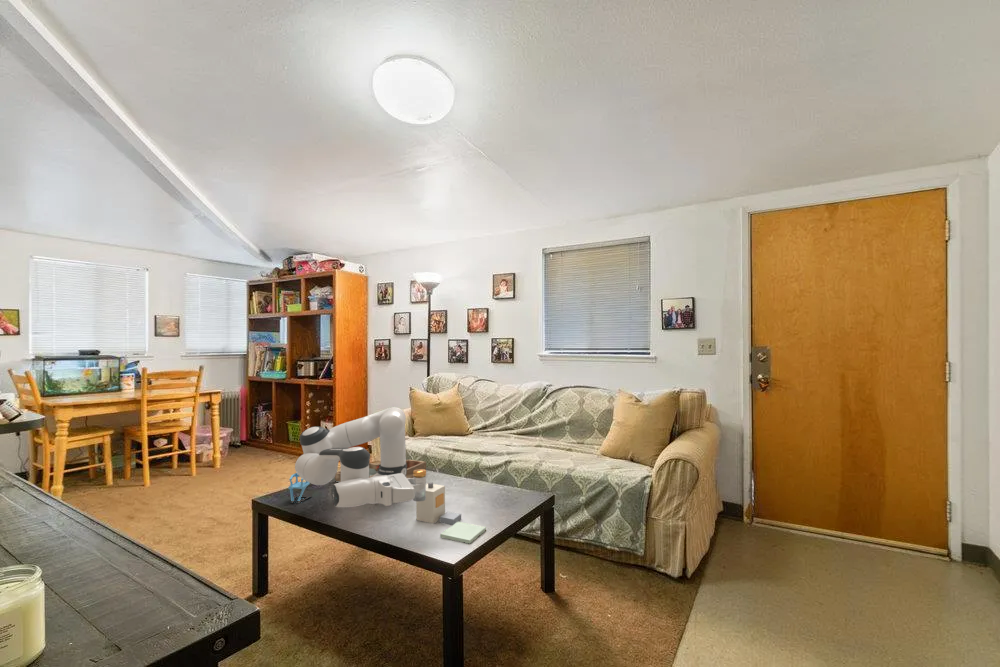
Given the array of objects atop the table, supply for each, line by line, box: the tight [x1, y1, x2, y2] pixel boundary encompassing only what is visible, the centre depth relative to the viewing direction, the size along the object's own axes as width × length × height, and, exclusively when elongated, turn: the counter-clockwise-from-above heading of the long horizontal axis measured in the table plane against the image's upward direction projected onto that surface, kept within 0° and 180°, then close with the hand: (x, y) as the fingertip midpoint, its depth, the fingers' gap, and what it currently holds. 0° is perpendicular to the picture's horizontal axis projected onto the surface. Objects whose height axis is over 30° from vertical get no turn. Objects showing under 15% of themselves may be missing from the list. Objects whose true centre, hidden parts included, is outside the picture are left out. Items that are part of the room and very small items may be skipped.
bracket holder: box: [406, 459, 427, 478], centre depth 227 cm, size 11×18×7 cm, turn 154°
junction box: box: [415, 482, 446, 524], centre depth 177 cm, size 8×8×14 cm
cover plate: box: [439, 511, 462, 526], centre depth 175 cm, size 6×6×2 cm
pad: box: [439, 521, 487, 544], centre depth 163 cm, size 12×12×1 cm
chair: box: [287, 473, 311, 502], centre depth 198 cm, size 8×8×12 cm
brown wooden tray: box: [334, 462, 381, 482], centre depth 229 cm, size 21×21×4 cm
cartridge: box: [412, 469, 427, 502], centre depth 161 cm, size 5×5×10 cm
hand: (421, 483), depth 161 cm, fingers closed on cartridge, 4 cm apart
